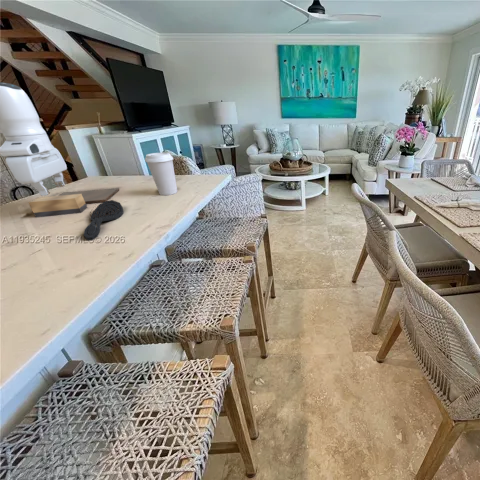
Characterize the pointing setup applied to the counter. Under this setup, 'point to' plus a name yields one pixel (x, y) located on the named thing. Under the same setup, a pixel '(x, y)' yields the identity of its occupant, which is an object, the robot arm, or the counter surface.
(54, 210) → the scrub brush
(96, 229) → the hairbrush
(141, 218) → the counter surface
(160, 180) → the coffee cup
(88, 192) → the walnut board
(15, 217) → the counter surface
